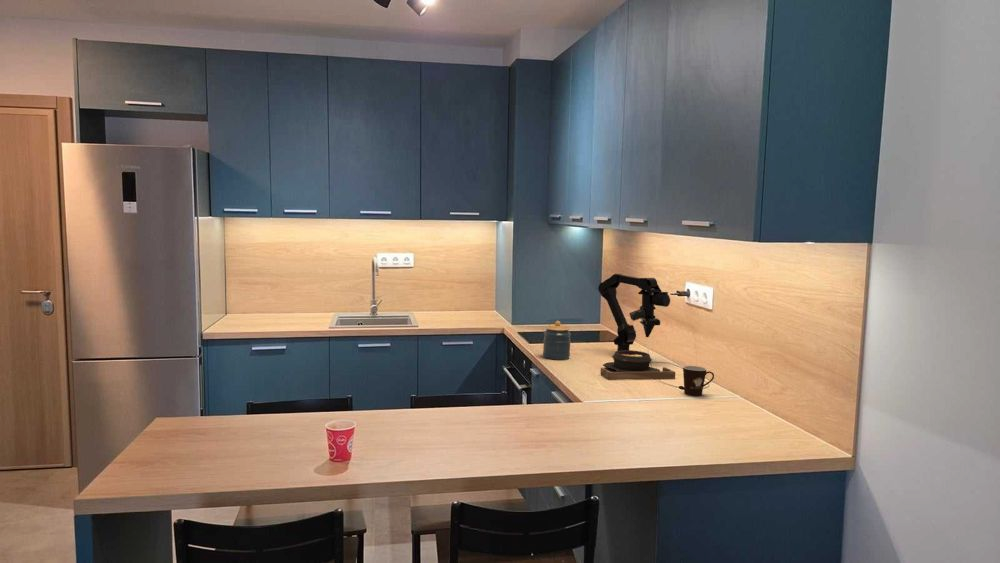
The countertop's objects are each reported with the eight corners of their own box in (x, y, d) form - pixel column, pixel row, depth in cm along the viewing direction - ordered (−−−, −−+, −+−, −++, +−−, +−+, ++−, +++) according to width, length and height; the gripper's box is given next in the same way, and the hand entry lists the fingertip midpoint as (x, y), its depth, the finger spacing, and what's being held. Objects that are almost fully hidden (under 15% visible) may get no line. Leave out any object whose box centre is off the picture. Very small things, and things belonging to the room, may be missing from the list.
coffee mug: (681, 395, 244) (682, 369, 243) (681, 390, 252) (683, 365, 251) (713, 398, 240) (715, 372, 239) (712, 393, 248) (714, 368, 248)
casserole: (595, 371, 280) (596, 352, 280) (613, 364, 296) (614, 346, 295) (650, 380, 266) (652, 360, 266) (666, 373, 282) (667, 354, 281)
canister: (538, 355, 311) (540, 318, 309) (563, 354, 314) (565, 318, 313) (548, 360, 298) (550, 323, 297) (574, 360, 302) (576, 322, 301)
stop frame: (600, 374, 273) (600, 367, 273) (664, 373, 280) (665, 367, 280) (608, 379, 264) (609, 372, 264) (675, 378, 271) (675, 371, 271)
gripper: (625, 301, 311) (624, 333, 313) (637, 307, 292) (636, 341, 294) (648, 301, 312) (647, 333, 314) (661, 307, 293) (660, 341, 295)
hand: (647, 337), depth 304 cm, fingers closed
